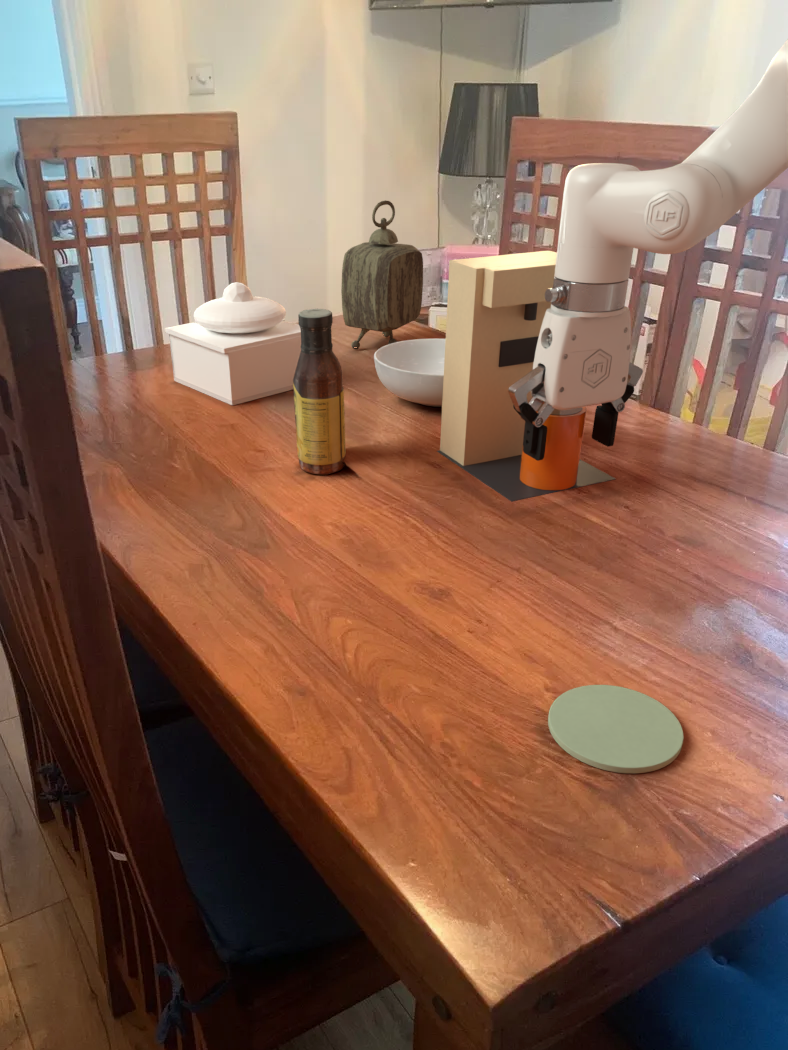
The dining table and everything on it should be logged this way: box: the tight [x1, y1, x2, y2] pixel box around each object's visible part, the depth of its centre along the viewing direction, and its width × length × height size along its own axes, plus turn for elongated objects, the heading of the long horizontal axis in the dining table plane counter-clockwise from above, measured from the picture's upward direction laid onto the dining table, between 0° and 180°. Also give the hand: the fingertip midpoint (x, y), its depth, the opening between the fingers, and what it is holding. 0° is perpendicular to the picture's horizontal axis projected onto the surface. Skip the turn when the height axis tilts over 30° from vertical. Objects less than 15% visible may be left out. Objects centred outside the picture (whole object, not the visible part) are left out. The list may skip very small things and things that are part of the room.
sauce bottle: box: [293, 308, 347, 476], centre depth 107 cm, size 6×6×20 cm
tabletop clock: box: [341, 200, 424, 350], centre depth 157 cm, size 14×9×25 cm, turn 145°
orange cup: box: [519, 404, 588, 490], centre depth 102 cm, size 7×7×9 cm
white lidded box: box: [164, 281, 301, 406], centre depth 140 cm, size 18×18×16 cm
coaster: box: [547, 684, 685, 775], centre depth 67 cm, size 10×10×1 cm
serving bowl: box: [373, 337, 446, 408], centre depth 134 cm, size 21×21×7 cm
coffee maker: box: [436, 250, 616, 503], centre depth 103 cm, size 18×15×25 cm
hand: (568, 449), depth 99 cm, fingers open, 9 cm apart
